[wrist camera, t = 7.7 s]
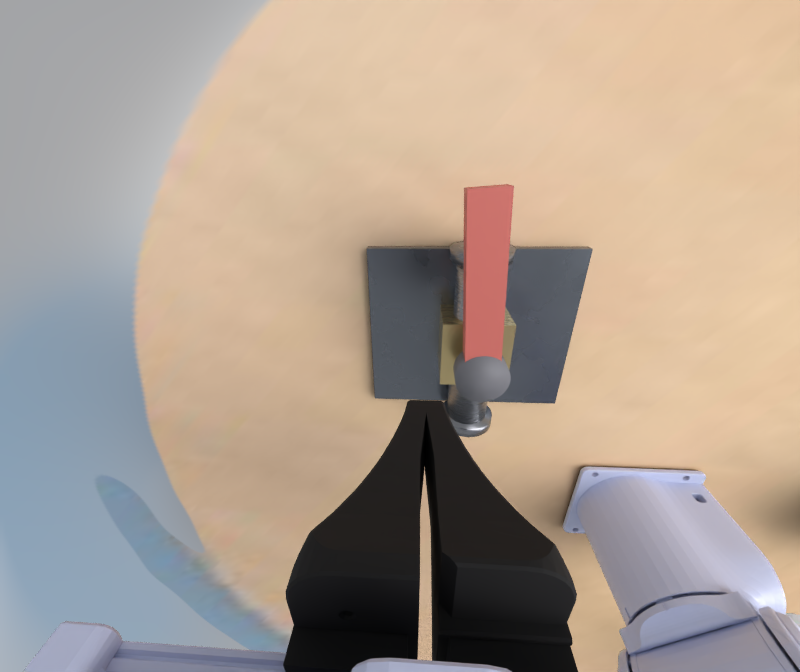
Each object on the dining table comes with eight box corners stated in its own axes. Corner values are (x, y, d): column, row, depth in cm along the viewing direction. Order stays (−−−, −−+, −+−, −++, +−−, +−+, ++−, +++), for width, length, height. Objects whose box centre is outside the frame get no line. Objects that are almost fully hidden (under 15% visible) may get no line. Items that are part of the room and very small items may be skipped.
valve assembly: (367, 237, 20) (354, 256, 16) (589, 238, 20) (632, 257, 16) (376, 398, 26) (367, 441, 22) (550, 403, 25) (574, 449, 21)
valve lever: (503, 388, 19) (508, 401, 18) (453, 389, 19) (455, 402, 18) (519, 183, 14) (527, 184, 13) (452, 188, 15) (454, 190, 13)
